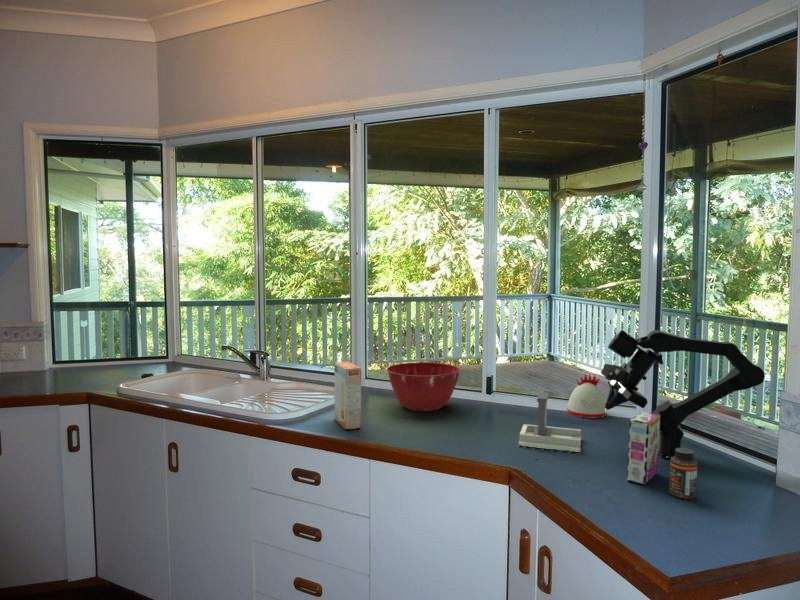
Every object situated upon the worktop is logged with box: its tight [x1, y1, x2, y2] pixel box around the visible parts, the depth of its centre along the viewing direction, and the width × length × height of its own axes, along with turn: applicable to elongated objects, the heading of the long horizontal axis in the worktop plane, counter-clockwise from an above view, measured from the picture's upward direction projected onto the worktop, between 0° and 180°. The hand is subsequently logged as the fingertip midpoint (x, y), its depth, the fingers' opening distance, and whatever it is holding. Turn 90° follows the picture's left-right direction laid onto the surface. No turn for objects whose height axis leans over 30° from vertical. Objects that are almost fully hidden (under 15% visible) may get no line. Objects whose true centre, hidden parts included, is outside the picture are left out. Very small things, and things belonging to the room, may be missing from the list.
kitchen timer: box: [566, 373, 606, 418], centre depth 210 cm, size 14×14×15 cm
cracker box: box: [333, 361, 362, 430], centre depth 195 cm, size 14×6×21 cm, turn 22°
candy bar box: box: [626, 411, 660, 485], centre depth 148 cm, size 11×5×16 cm, turn 141°
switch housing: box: [518, 423, 582, 453], centre depth 176 cm, size 18×14×4 cm
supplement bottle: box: [668, 447, 698, 500], centre depth 137 cm, size 6×6×11 cm
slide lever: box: [533, 391, 551, 436], centre depth 176 cm, size 5×8×13 cm, turn 161°
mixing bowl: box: [386, 361, 461, 413], centre depth 217 cm, size 28×28×16 cm
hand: (606, 408), depth 170 cm, fingers closed
